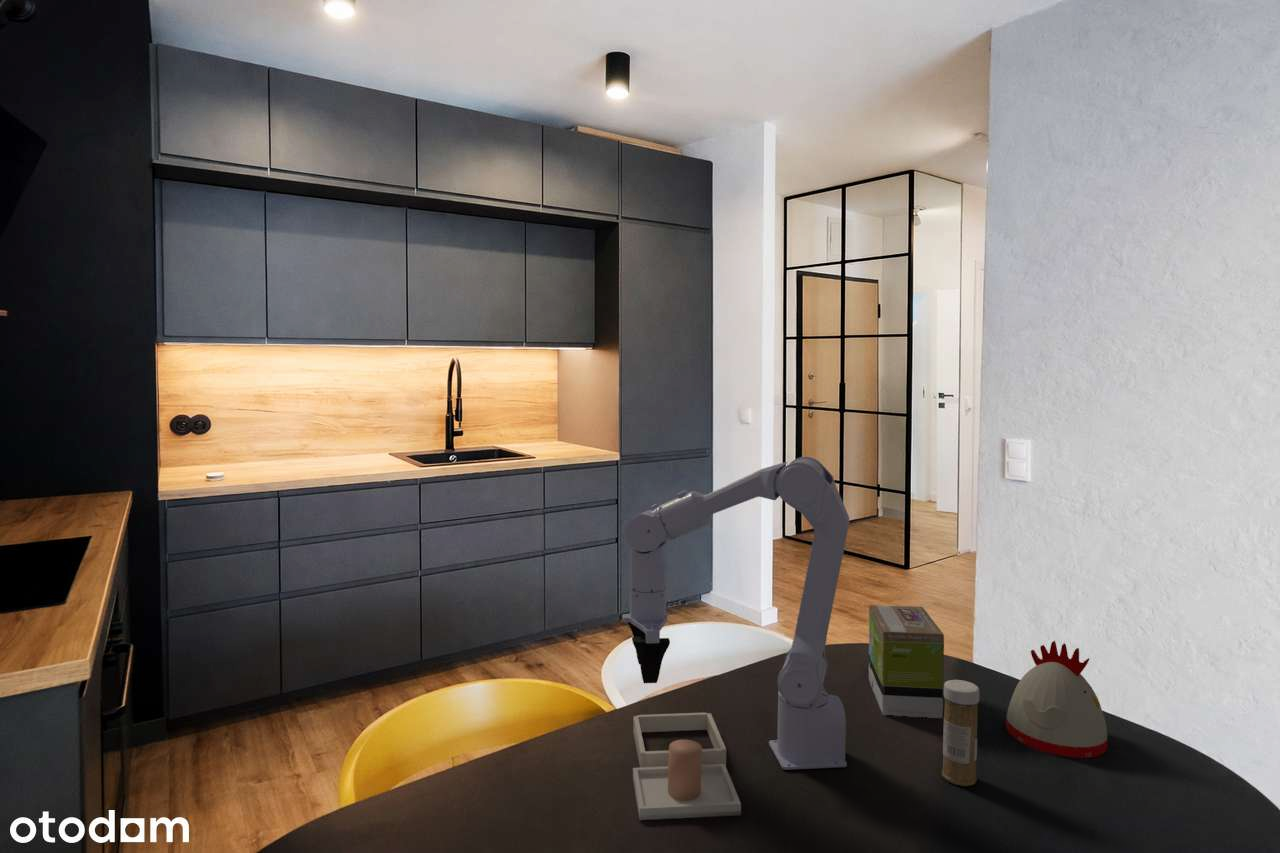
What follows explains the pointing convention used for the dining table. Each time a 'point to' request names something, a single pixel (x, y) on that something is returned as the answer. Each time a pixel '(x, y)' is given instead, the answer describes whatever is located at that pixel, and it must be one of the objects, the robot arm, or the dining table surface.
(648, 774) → the tray
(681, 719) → the grey square frame
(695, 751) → the terracotta cylinder
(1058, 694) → the kitchen timer
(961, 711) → the sprinkles bottle
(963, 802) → the dining table surface
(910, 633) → the tea box
